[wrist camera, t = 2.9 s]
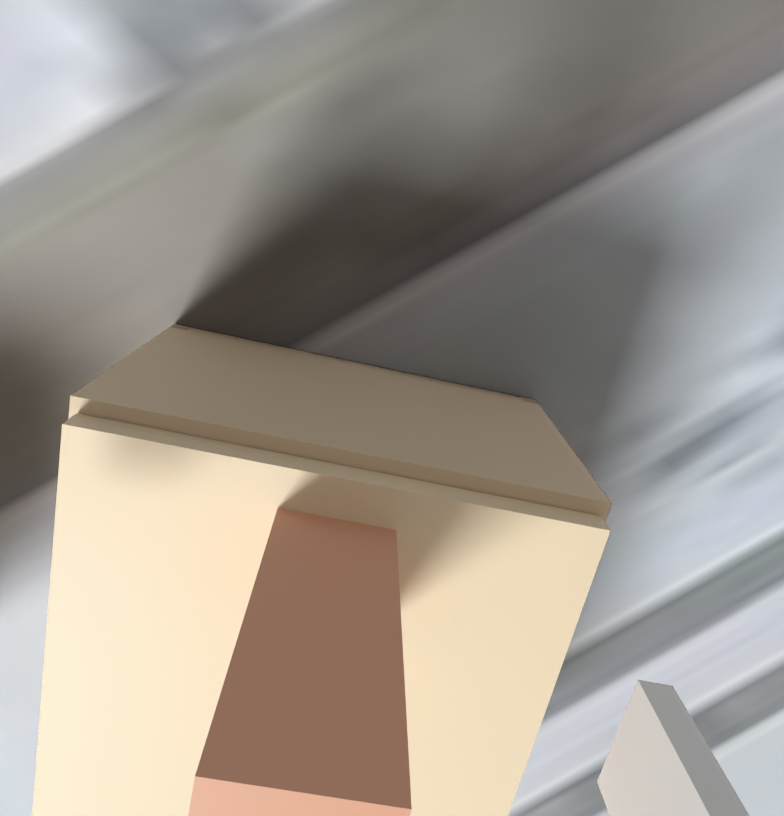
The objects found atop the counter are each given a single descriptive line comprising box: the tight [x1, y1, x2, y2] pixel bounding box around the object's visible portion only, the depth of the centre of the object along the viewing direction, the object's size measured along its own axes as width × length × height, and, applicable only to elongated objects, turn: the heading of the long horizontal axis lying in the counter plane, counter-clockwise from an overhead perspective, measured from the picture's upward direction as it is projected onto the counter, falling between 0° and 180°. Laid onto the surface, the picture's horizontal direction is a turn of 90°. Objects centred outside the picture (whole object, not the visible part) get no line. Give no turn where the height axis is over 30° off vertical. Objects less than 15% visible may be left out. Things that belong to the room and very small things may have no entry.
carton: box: [68, 324, 612, 522], centre depth 24 cm, size 18×14×9 cm
